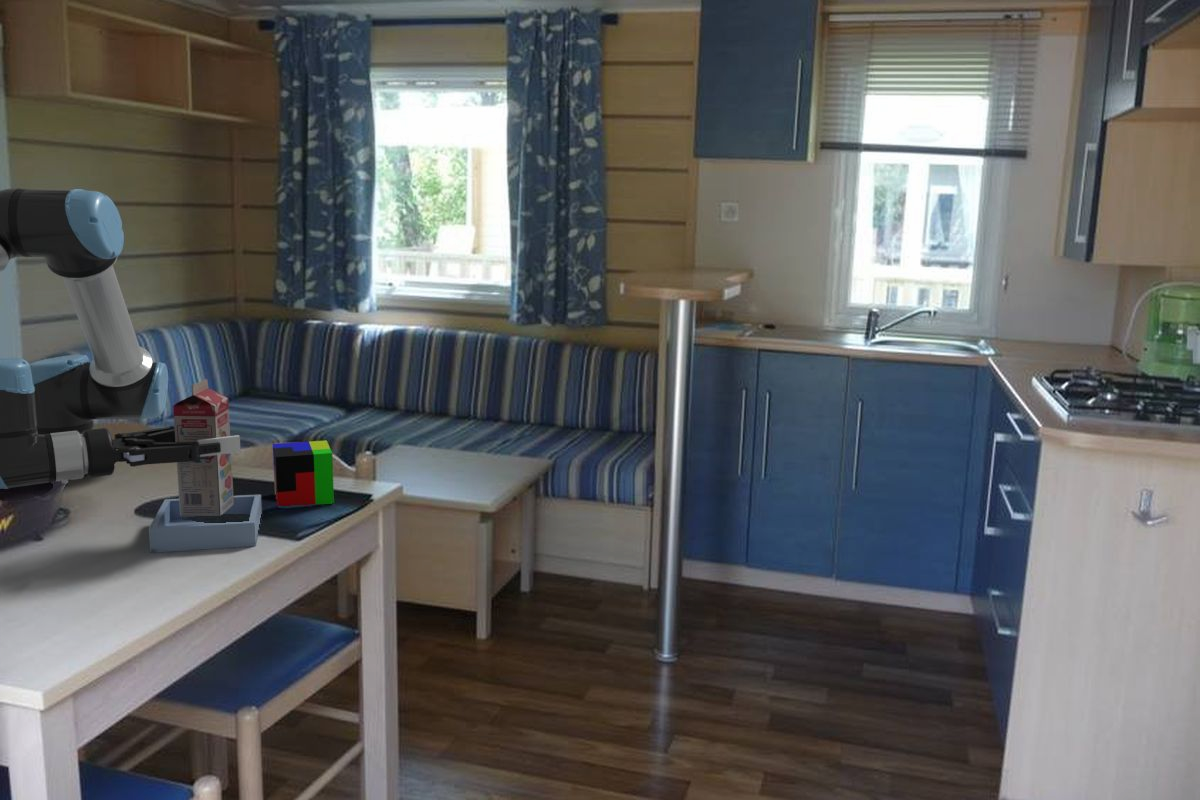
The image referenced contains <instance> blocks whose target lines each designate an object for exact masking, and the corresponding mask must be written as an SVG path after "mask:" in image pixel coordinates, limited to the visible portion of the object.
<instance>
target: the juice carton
mask: <svg viewBox="0 0 1200 800" xmlns="http://www.w3.org/2000/svg"><path fill="white" fill-rule="evenodd" d="M190 386H191V395H189V396H188V397H186V398H184V399H182V400H180V401H178V402H176V403H174V405H173V406H172V407H173V408H172V409H173V426H174V427H175V442H197V440H200V439H209V438H218V437H227V436H231V425H230V423H231V422H230V407H229V406H230V403H229V398H228V397H227V396H226V395H223V394H221V393H220V392H218V391H216V390H214V389H211V388H209V381H208V378H207V377H206V378H205V379H203V380H200V381H199V382H196V383H194V384H192V385H190ZM188 452H189V454H190V450H189V451H188ZM232 459H233V458H232V453H229V454H220V455H212V456H204V457H200V462H198V463H195V462H193V461H190V462H176V469H177V470H176V474H177V488H178V499H179V505H180V516H221V515H223V514H224V513H225V512H226V511H227V510H228V509H229V508H230V507H231V506H233V505H234V499H233V496H234V483H233V479H234V478H233V464H232Z"/></svg>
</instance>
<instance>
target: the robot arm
mask: <svg viewBox="0 0 1200 800" xmlns="http://www.w3.org/2000/svg"><path fill="white" fill-rule="evenodd" d="M122 227H123V222H122V218H121V215H120V211H119V210H118V208H117V206H116V205H115V203H114V202H113V200H112V199H111V198H110V197H109V196H108V195H107V194H105V193H103V192H101V191H97V190H85V189H81V188H74V189H71V190H66V189H65V190H63V189H38V188H37V189H34V188H32V189H31V188H28V189H27V188H7V189H6V188H5V189H2V190H0V273H1V272H3V271H4V270H5V269H6V268H7V266H8V264H9V262H10V260H12V259H15V258H43V259H44V260H45V263H46V264H47V267H48V269H49V271H50V272H51V273H52V274H54V275H55V276H57V277H59V278H62V281H63V283H64V285H65V288H66V290H67V293H68V295H69V298H70V301H71V303H72V306H73V309H74V311H75V315H76V317H77V319H78V322H79V324H80V327H81V330H82V332H83V335H84V337H85V340H86V342H87V345H88V347H89V351H90V354H91V356H92V358H93V359H92V360H91V362H90V359H89V357H88V355H86V354H69V355H63V356H57V357H56V356H55V357H51V358H45V359H40V360H38V361H34V362H32V363H29V362H28V361H27V360H26V359H23V358H20V357H0V489H5V490H9V489H12V488H17V487H24V486H32V485H33V486H34V485H40V484H46V483H54V482H61V484H64V485H67V484H68V483H69V481H70V480H71V481H72V480H80V479H83V478H84V477H85V475H87V477H89V478H98V477H99V478H100V477H104V476H112V474H113V473H114V472H115V464H116V463H118V462H119V463H124V462H126V464H127V465H129V466H130V467H132V468H134V467H138V466H146V465H159V464H172V463H177V462H190V461H193V462H195V463H198V462H200V457H204V456H212V455H220V454H229V453H231V454H235V453H237V454H238V453H241V436H240V435H239V434H238V435H230V436H227V437H218V438H209V439H200V440H197V442H175V427H174V425H171V426H165V427H160V428H152V429H145V430H140V431H133V432H132V431H131V432H126V433H125V432H124V433H123V432H122V433H116V434H114V439H113V438H112V434H111V431H110V430H109V429H108V428H107V427H104V428H95V427H94V420H139V421H142V420H147V419H156V418H159V417H160V416H161V415H162V414H163V412H164V409H165V407H166V404H167V397H168V390H169V371H168V367H167V365H166V363H165V362H160V361H156V362H154V360H153V357H152V355H151V354H150V352H149V351H148V350H147V349H145V348H144V347H142V346H140V344H139V341H138V338H137V334H136V332H135V329H134V325H133V322H132V320H131V315H130V314H129V311H128V308H127V305H126V301H125V299H124V295H123V293H122V290H121V286H120V284H119V281H118V278H117V274H116V272H115V268H114V265H115V264H116V262H117V260H118V257H119V256H120V255H121V253H122V251H123V248H124V242H125V241H124V240H125V234H124V230H123V228H122ZM189 450H190V454H189V452H188V451H189Z"/></svg>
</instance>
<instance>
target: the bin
mask: <svg viewBox="0 0 1200 800" xmlns="http://www.w3.org/2000/svg"><path fill="white" fill-rule="evenodd" d="M233 499H234V505H233V506H231V507H230V508H229V509H228V510H227V511H226V512H225V513H224V514H250V517H249V521H243V522H226V523H204V522H196V521H192V520H182V518H187V517H195V516H180V505H179V498H168V499H167V498H166V499H164V500H163V503H162V504H161V505H160V508H159V509H158V511H157V513H156V515H155V517H154V518H153V521H152V522H151V524H150V526H149V528H148V536H149V549H150V553H151V554H153V553H167V552H169V553H170V552H181V551H182V552H183V551H198V550H212V549H213V550H214V549H215V550H216V549H227V548H229V549H231V548H246V547H256V546H257V542H258V536H259V533H258V530H259V531H260V528H259V524H260V525H261V523H260V518H261V514H262V515H263V506H262V505H263V504H262V494H244V495H243V494H241V495H233ZM180 518H181V519H180Z"/></svg>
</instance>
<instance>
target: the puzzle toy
mask: <svg viewBox="0 0 1200 800" xmlns="http://www.w3.org/2000/svg"><path fill="white" fill-rule="evenodd" d="M272 456H273V457H272V459H273V461H272V462H273V476H274V477H273V479H274V481H273V482H274V496H275V495H276V497H275V500H277V501H276V505H277V504H278V506H291V505H308V504H309V505H310V504H332V503H334V504H335V497H334V495H335V494H334V491H335V490H334V467H333V466H334V465H333V464H334V463H333V461H334V460H333V451H332V449H331V448H330V445H329V443H328V440H326V439H325V440H313V441H297V442H284V443H272ZM332 505H333V504H332ZM278 506H277V507H278Z"/></svg>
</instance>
